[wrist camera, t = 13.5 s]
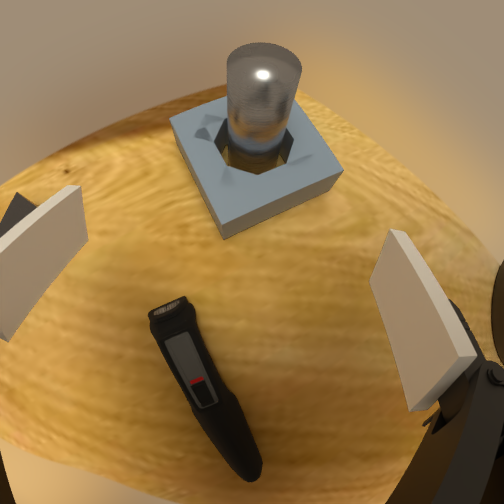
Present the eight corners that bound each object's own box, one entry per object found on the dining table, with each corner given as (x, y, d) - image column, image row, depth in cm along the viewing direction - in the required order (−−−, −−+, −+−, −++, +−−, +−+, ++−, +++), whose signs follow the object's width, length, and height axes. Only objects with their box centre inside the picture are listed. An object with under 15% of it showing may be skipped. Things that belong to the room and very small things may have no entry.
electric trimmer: (230, 472, 20) (230, 491, 17) (147, 312, 23) (135, 311, 19) (270, 457, 21) (276, 474, 18) (189, 293, 23) (182, 291, 20)
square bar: (19, 315, 21) (-7, 313, 18) (-2, 293, 22) (-27, 288, 18) (62, 223, 24) (40, 209, 20) (39, 206, 24) (16, 191, 20)
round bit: (283, 175, 25) (316, 78, 14) (241, 193, 25) (247, 97, 13) (261, 139, 26) (278, 37, 14) (220, 155, 25) (215, 52, 14)
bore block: (328, 190, 25) (344, 170, 21) (223, 239, 24) (221, 224, 20) (273, 107, 27) (279, 79, 23) (176, 143, 25) (169, 118, 22)
